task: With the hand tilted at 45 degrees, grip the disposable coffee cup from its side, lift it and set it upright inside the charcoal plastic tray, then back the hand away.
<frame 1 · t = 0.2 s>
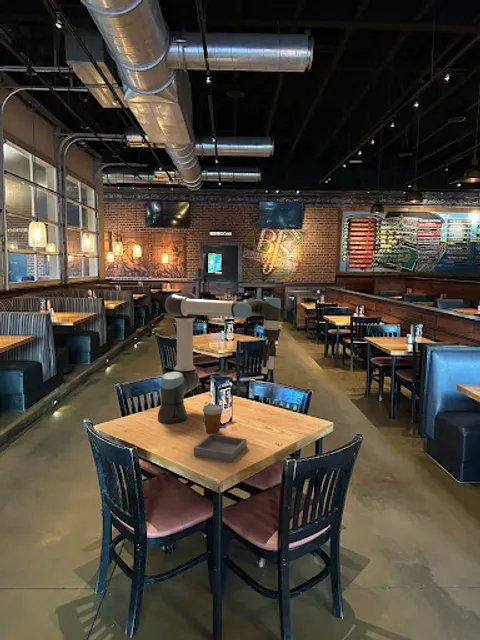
hand: (267, 371, 217), 27 cm above the table, tool pointing down, fingers open, 13 cm apart
disposable coffee cup: (212, 432, 209), on the table
tray: (220, 451, 187), on the table
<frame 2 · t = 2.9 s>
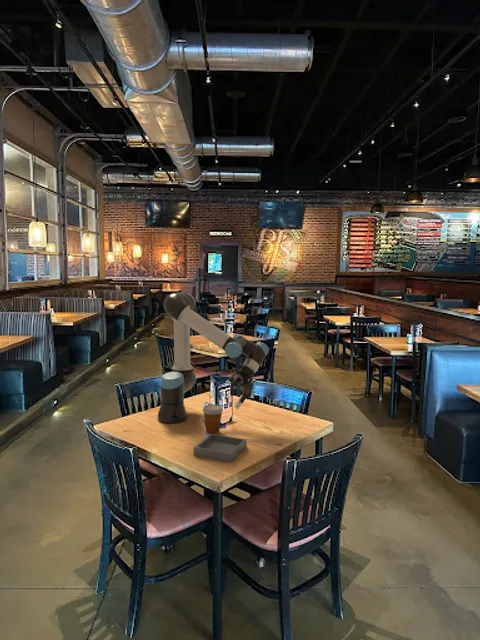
hand: (226, 404, 212), 12 cm above the table, tool tilted 45°, fingers open, 13 cm apart
nothing on the table moved.
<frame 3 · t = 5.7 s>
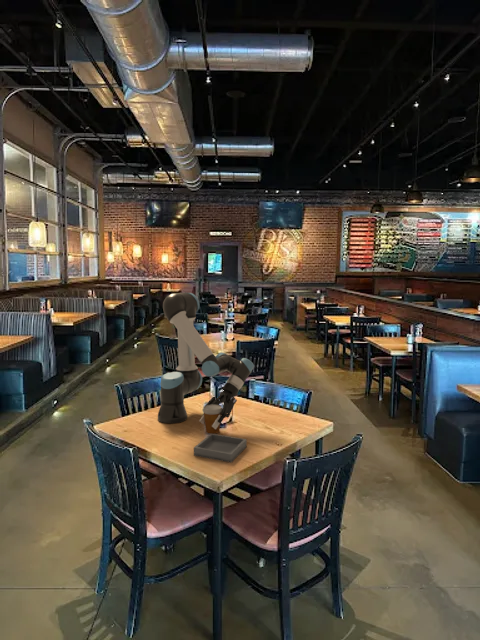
hand: (207, 425, 206), 4 cm above the table, tool tilted 45°, fingers closed on disposable coffee cup, 9 cm apart
disposable coffee cup: (212, 431, 209), on the table, touching gripper
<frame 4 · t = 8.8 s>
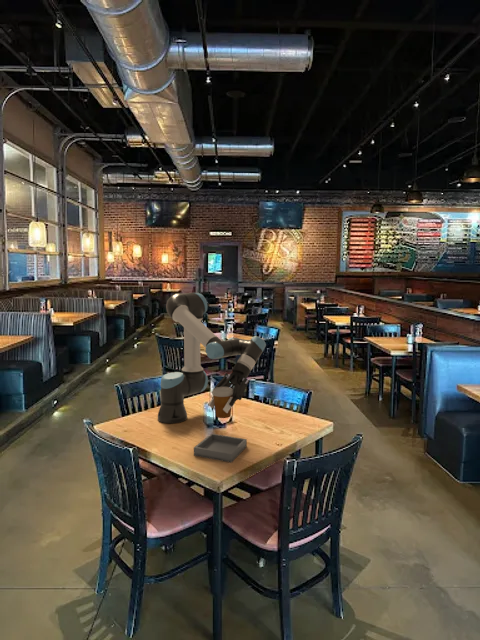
hand: (217, 408, 188), 17 cm above the table, tool tilted 45°, fingers closed on disposable coffee cup, 9 cm apart
disposable coffee cup: (223, 416, 191), point 13 cm above the table, touching gripper
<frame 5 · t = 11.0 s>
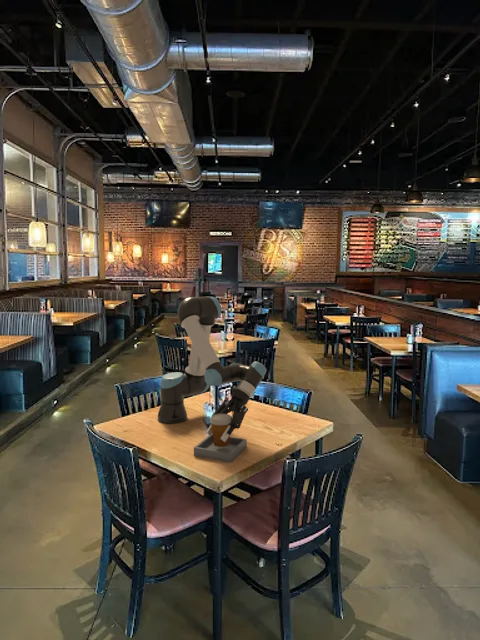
hand: (215, 437, 183), 7 cm above the table, tool tilted 45°, fingers closed on disposable coffee cup, 9 cm apart
disposable coffee cup: (221, 444, 186), point 3 cm above the table, touching gripper
when the fingers open (6 cm above the table, at t = 12.2 s): disposable coffee cup moves 4 cm, resting on tray.
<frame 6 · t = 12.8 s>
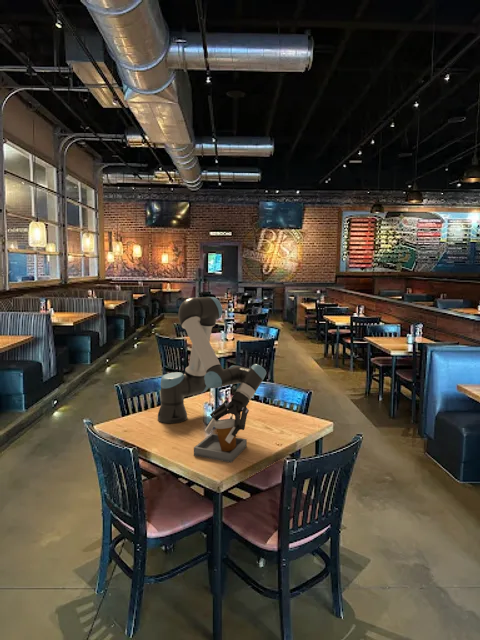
hand: (216, 437, 184), 7 cm above the table, tool tilted 45°, fingers open, 13 cm apart
disposable coffee cup: (228, 449, 185), point 1 cm above the table, touching gripper, tray
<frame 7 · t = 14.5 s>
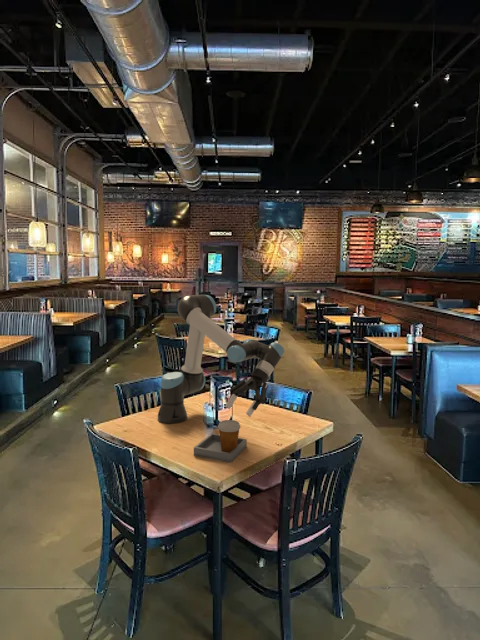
hand: (237, 411, 191), 16 cm above the table, tool tilted 45°, fingers open, 13 cm apart
disposable coffee cup: (228, 451, 185), point 1 cm above the table, touching tray
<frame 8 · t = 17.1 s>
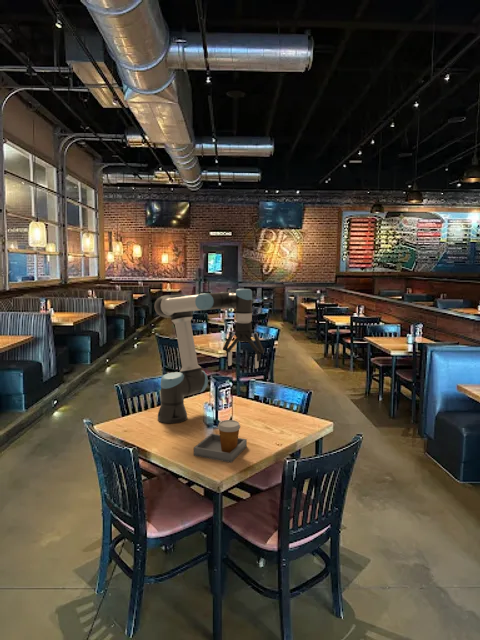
hand: (243, 366, 206), 32 cm above the table, tool pointing down, fingers open, 13 cm apart
nothing on the table moved.
at the end: disposable coffee cup inside the target area on the tray (4.0 cm from its centre), point 0.8 cm above the tray's base; disposable coffee cup tilted 0°; the gripper is holding nothing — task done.
